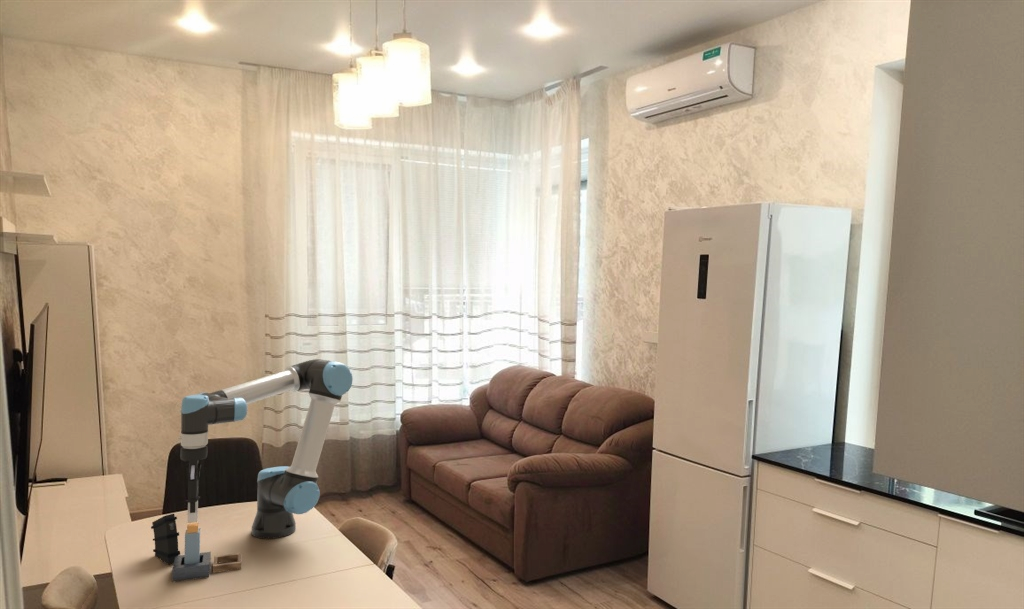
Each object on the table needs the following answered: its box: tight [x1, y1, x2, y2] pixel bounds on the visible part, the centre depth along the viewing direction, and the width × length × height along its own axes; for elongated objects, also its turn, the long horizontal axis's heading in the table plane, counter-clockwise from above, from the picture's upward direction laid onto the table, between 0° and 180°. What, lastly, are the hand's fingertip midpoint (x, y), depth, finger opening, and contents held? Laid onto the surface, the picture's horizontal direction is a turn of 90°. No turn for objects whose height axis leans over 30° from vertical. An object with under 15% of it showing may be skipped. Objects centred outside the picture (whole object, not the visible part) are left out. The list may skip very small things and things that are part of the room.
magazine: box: [150, 513, 181, 566], centre depth 207 cm, size 4×13×15 cm, turn 51°
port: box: [171, 551, 212, 583], centre depth 198 cm, size 10×10×4 cm
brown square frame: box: [212, 552, 242, 573], centre depth 203 cm, size 8×8×2 cm
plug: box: [184, 522, 201, 565], centre depth 198 cm, size 4×4×15 cm
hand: (192, 521), depth 197 cm, fingers closed
